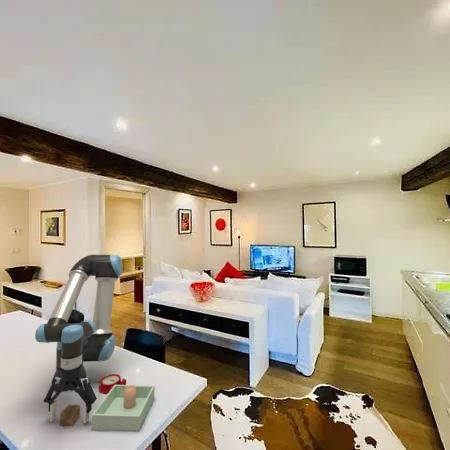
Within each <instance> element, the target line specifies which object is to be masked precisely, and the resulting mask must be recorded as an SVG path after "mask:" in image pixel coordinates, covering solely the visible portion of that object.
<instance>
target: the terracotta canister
mask: <svg viewBox="0 0 450 450" xmlns="http://www.w3.org/2000/svg"><path fill="white" fill-rule="evenodd" d="M135 405H136V386H133V384H131V386H127V387H126V388H125V389H124V408H125V409H131V408H133V407H134V406H135Z"/></svg>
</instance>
